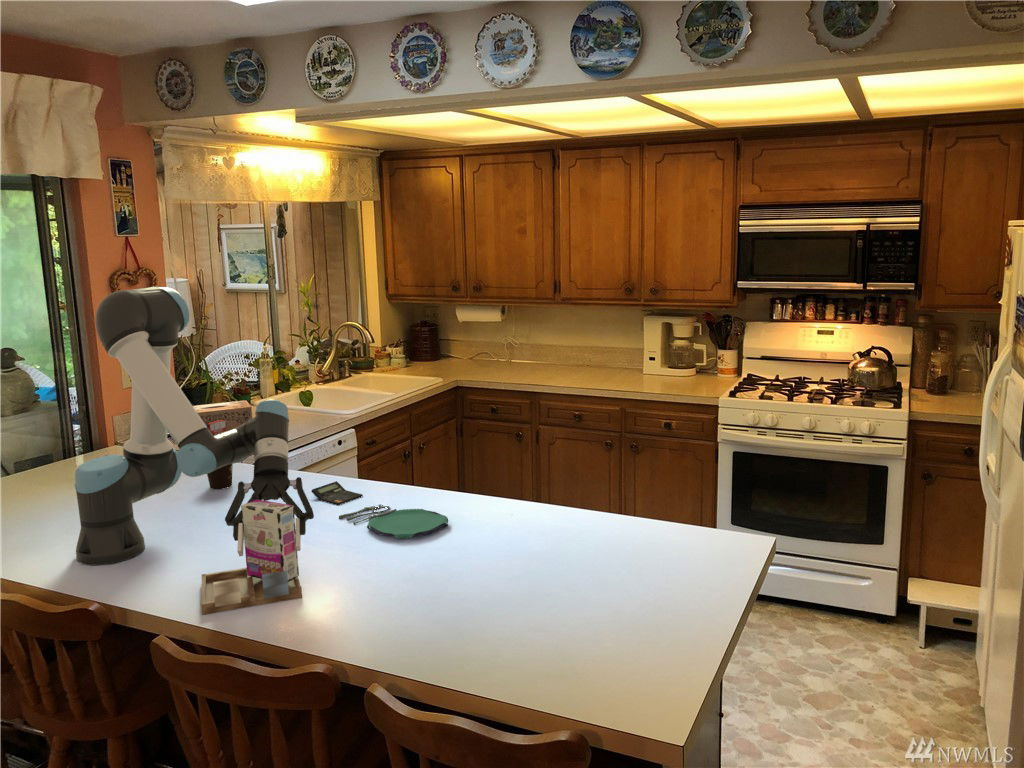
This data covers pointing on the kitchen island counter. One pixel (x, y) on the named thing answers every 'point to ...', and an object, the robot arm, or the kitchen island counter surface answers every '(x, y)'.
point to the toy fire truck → (217, 427)
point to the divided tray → (245, 590)
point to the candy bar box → (269, 538)
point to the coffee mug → (221, 477)
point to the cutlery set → (401, 521)
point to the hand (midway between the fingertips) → (269, 551)
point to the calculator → (334, 493)
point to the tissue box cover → (226, 413)
